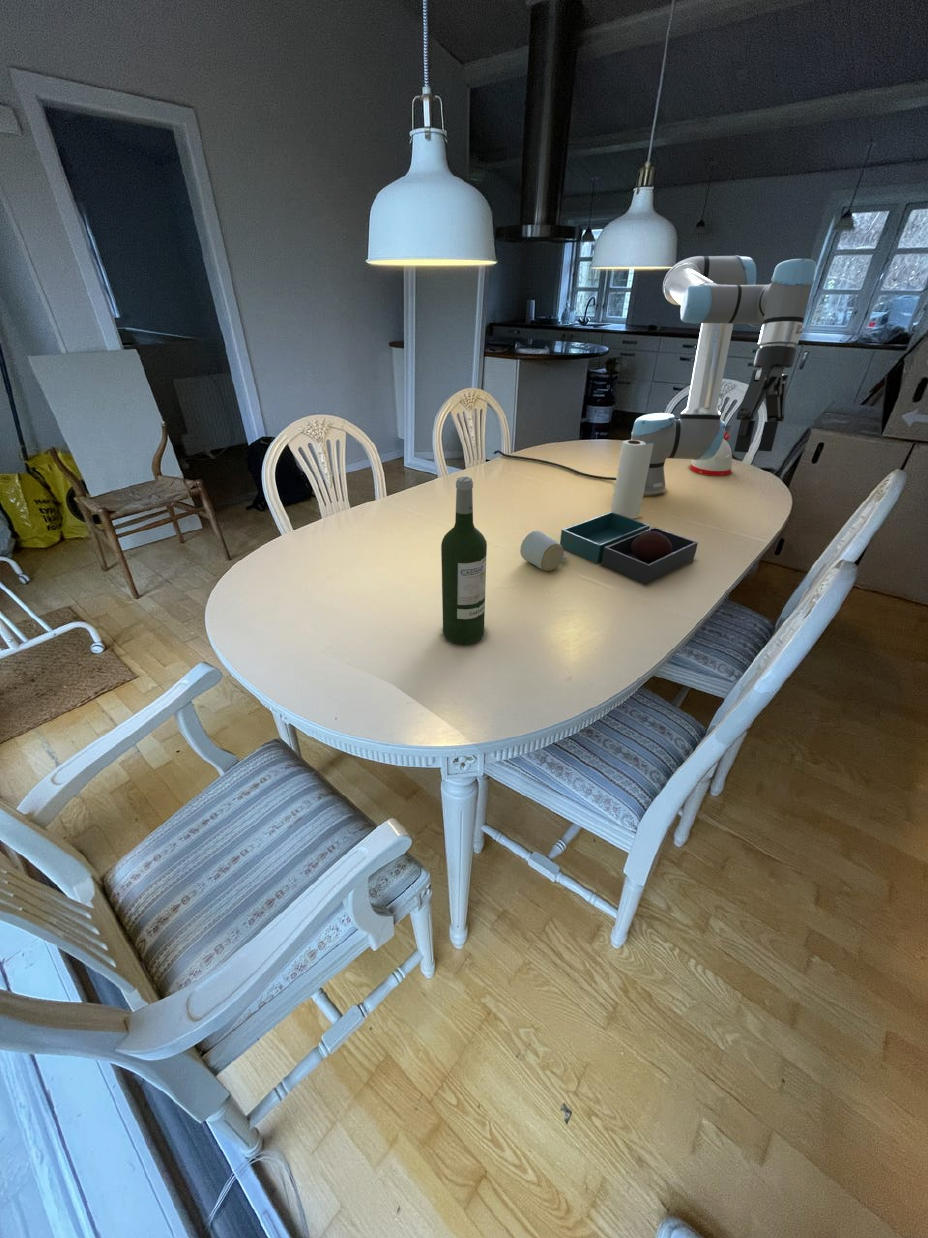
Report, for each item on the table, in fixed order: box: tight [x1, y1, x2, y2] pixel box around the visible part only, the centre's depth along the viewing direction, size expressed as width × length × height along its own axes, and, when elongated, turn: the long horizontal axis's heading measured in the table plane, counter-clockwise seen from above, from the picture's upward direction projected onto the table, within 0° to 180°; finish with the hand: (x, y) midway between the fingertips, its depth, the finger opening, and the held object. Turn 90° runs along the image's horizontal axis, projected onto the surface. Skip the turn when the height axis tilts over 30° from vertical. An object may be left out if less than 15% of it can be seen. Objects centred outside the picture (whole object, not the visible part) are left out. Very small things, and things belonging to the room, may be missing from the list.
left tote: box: [559, 511, 651, 565], centre depth 130 cm, size 12×20×5 cm, turn 129°
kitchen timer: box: [689, 430, 733, 477], centre depth 184 cm, size 14×14×15 cm
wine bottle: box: [440, 476, 488, 646], centre depth 89 cm, size 8×8×30 cm
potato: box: [631, 531, 672, 563], centre depth 121 cm, size 8×9×8 cm
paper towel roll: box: [610, 439, 654, 519], centre depth 142 cm, size 7×6×21 cm
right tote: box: [600, 526, 699, 586], centre depth 122 cm, size 12×20×5 cm, turn 129°
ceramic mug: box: [519, 530, 568, 572], centre depth 120 cm, size 11×8×8 cm
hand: (753, 451), depth 116 cm, fingers open, 13 cm apart
